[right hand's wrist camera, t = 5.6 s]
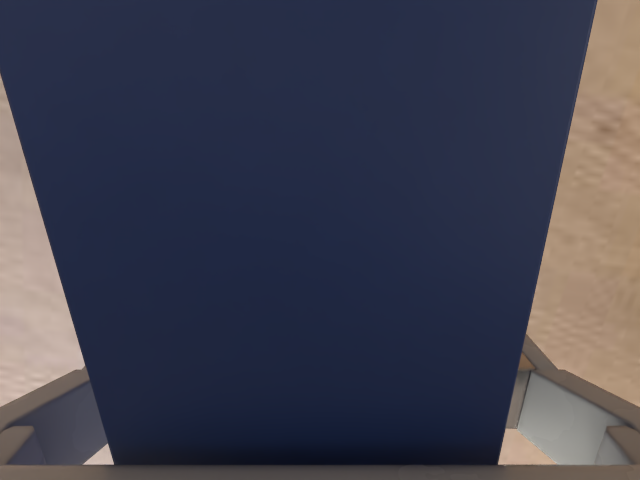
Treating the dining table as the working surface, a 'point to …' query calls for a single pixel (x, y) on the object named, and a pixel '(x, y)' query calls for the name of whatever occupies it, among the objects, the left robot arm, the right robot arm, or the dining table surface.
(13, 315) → the dining table surface
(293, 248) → the box
